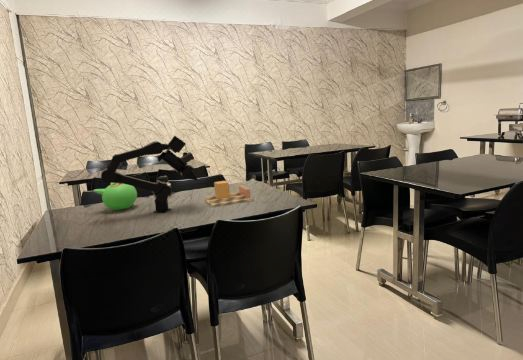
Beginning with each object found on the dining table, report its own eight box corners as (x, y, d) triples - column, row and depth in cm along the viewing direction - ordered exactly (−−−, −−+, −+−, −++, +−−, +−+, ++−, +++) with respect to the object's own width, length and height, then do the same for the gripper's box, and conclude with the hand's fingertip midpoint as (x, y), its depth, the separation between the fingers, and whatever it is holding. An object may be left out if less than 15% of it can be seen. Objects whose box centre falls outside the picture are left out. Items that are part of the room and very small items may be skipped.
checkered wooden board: (211, 207, 182) (211, 201, 182) (204, 201, 195) (204, 196, 195) (252, 200, 191) (252, 195, 190) (243, 195, 203) (242, 190, 203)
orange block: (218, 201, 188) (217, 184, 186) (215, 198, 193) (214, 182, 191) (229, 199, 190) (228, 182, 188) (226, 197, 195) (225, 180, 194)
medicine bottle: (169, 198, 208) (166, 177, 205) (156, 198, 208) (154, 178, 205) (172, 195, 215) (170, 175, 212) (160, 195, 215) (158, 175, 212)
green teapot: (125, 213, 179) (121, 184, 177) (95, 213, 183) (90, 185, 180) (144, 204, 197) (141, 177, 194) (116, 204, 200) (112, 177, 197)
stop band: (246, 198, 190) (246, 189, 189) (239, 194, 201) (238, 185, 200) (250, 198, 191) (249, 189, 190) (242, 194, 202) (241, 185, 201)
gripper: (187, 148, 171) (211, 169, 177) (179, 146, 188) (202, 165, 194) (171, 167, 169) (197, 187, 176) (165, 163, 186) (189, 181, 193)
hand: (196, 179), depth 185 cm, fingers closed
